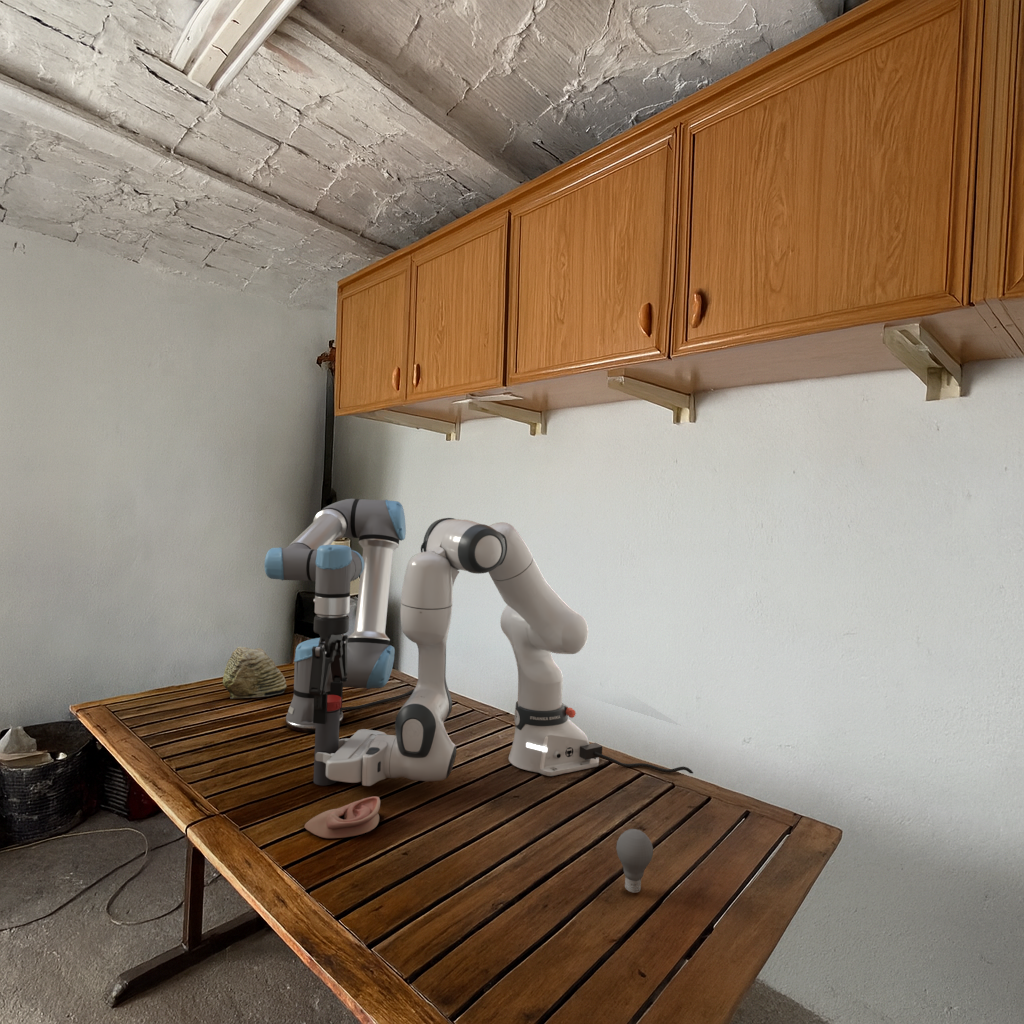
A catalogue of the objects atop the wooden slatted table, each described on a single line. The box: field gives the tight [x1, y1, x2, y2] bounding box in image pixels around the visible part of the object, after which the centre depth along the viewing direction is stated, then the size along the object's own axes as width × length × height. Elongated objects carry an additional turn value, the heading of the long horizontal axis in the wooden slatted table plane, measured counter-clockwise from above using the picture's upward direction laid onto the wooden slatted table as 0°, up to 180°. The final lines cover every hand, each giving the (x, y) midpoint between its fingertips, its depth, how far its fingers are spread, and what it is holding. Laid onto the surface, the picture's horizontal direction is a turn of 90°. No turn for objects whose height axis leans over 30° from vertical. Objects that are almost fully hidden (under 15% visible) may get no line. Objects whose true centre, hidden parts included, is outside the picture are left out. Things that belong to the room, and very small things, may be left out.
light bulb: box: [615, 828, 654, 894], centre depth 106 cm, size 6×6×10 cm
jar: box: [312, 709, 341, 787], centre depth 141 cm, size 5×5×18 cm
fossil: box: [222, 646, 288, 699], centre depth 198 cm, size 9×18×15 cm, turn 132°
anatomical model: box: [304, 796, 381, 839], centre depth 123 cm, size 13×4×12 cm
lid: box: [327, 695, 343, 711], centre depth 141 cm, size 6×6×2 cm
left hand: (327, 716), depth 141 cm, fingers open, 8 cm apart
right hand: (322, 749), depth 141 cm, fingers closed on jar, 5 cm apart
